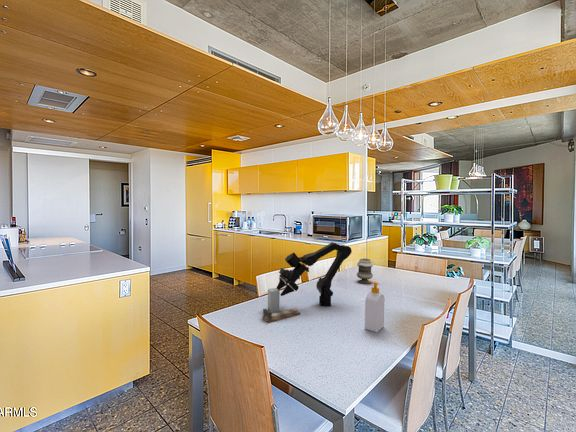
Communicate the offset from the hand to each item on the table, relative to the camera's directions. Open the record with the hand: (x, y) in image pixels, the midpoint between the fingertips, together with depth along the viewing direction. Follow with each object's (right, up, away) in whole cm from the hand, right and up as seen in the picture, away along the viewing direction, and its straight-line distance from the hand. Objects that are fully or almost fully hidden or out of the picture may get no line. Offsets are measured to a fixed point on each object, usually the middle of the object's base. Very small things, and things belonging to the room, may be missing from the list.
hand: (278, 293), depth 163 cm
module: (-3, -10, 0) cm, 10 cm away
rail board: (+2, -10, -8) cm, 13 cm away
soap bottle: (+48, -12, -21) cm, 53 cm away
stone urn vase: (+65, -8, +60) cm, 89 cm away
